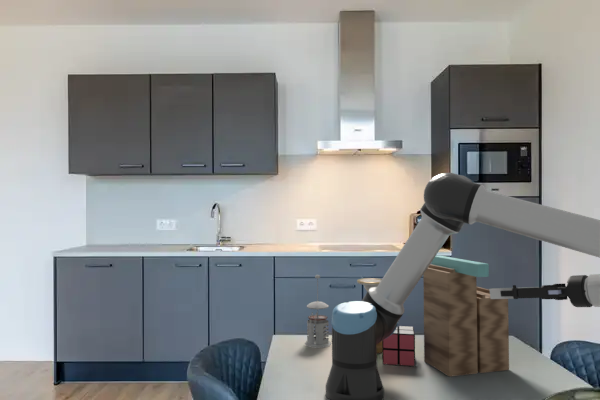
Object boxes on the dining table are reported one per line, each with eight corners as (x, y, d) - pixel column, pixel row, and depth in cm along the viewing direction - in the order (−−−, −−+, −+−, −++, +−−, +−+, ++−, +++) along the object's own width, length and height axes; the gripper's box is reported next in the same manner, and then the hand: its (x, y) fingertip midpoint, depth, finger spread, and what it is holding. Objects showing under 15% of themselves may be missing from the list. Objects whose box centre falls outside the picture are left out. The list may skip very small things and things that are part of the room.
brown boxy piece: (449, 376, 134) (448, 269, 134) (424, 361, 147) (423, 264, 148) (509, 369, 139) (507, 267, 140) (479, 355, 153) (478, 262, 153)
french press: (334, 341, 170) (333, 273, 171) (326, 350, 159) (326, 277, 160) (308, 339, 173) (308, 272, 174) (299, 347, 162) (299, 276, 163)
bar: (488, 276, 127) (488, 263, 127) (477, 277, 126) (477, 264, 126) (441, 266, 150) (441, 255, 150) (431, 266, 149) (431, 256, 149)
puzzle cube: (415, 366, 142) (415, 334, 143) (382, 364, 144) (382, 332, 145) (413, 356, 152) (413, 326, 152) (383, 354, 154) (382, 324, 154)
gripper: (572, 309, 100) (481, 309, 116) (611, 305, 116) (526, 305, 132) (567, 274, 102) (477, 279, 117) (606, 274, 117) (522, 278, 133)
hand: (503, 293), depth 125 cm, fingers open, 13 cm apart
